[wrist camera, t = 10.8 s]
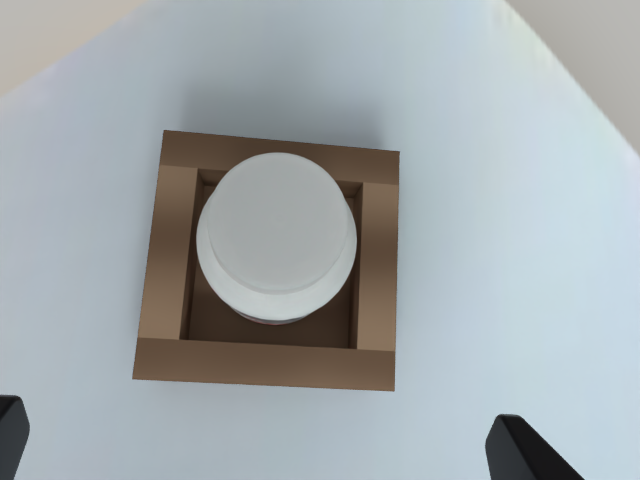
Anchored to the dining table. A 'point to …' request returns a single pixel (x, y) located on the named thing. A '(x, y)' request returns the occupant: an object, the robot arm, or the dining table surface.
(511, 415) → the robot arm
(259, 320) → the pill bottle
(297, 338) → the socket block
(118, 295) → the dining table surface
